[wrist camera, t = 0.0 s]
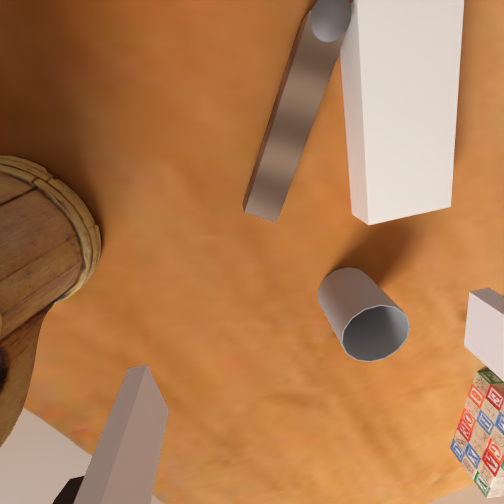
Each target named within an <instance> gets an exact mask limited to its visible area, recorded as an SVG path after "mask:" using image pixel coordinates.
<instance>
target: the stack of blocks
mask: <svg viewBox="0 0 504 504" xmlns="http://www.w3.org/2000/svg"><path fill="white" fill-rule="evenodd" d="M451 450H452V451H453V453H454V454H455V456H456V457H457V458H458V460H459V461H460V463H461V464H462V466H463V467H464V468H465V470H466V471H467V473H468V474H469V475H470V477H471V478H472V480H474V481H475V483H476V484H477V486H478V487H479V488H480V490H481V491H482V493H483V494H484V495H485V497H486V498H491V497H500V496H504V381H502V380H501V379H500V378H499V377H498V376H497V375H496V374H495V373H494V372H493V371H491V370H490V371H479V372H477V373H476V376H475V378H474V381H473V384H472V386H471V389H470V391H469V394H468V397H467V400H466V403H465V406H464V410H463V413H462V416H461V420H460V423H459V426H458V429H457V431H456V434H455V437H454V439H453V442H452V445H451Z"/></svg>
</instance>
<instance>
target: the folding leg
mask: <svg viewBox="0 0 504 504" xmlns="http://www.w3.org/2000/svg"><path fill="white" fill-rule="evenodd" d="M351 16H352V11H351V5H350V2H349V0H318V1H317V2H316V4H315V5H314V6H313V8H312V9H311V10H310V11H309V12H308V13H307V15H306V16H305V18H304V19H303V21H302V22H301V23H300V25H299V28H298V32H297V35H296V38H295V41H294V44H293V47H292V50H291V54H290V57H289V60H288V63H287V66H286V69H285V72H284V76H283V79H282V82H281V85H280V88H279V91H278V95H277V98H276V101H275V104H274V107H273V110H272V113H271V117H270V120H269V123H268V126H267V129H266V132H265V135H264V139H263V142H262V145H261V148H260V151H259V154H258V157H257V161H256V164H255V167H254V170H253V173H252V176H251V179H250V183H249V186H248V189H247V192H246V195H245V198H244V202H243V209H244V213H247V214H250V215H253V216H257V217H260V218H263V219H267V220H270V221H273V222H277V220H278V217H279V215H280V212H281V209H282V206H283V204H284V201H285V198H286V195H287V193H288V190H289V187H290V185H291V182H292V179H293V176H294V174H295V171H296V168H297V166H298V163H299V160H300V157H301V155H302V152H303V149H304V147H305V144H306V141H307V138H308V136H309V133H310V130H311V128H312V125H313V122H314V119H315V117H316V114H317V111H318V109H319V106H320V103H321V100H322V98H323V95H324V92H325V90H326V87H327V84H328V81H329V79H330V76H331V73H332V71H333V68H334V65H335V62H336V60H337V57H338V54H339V52H340V49H341V46H342V43H343V41H344V38H345V35H346V33H347V30H348V27H349V25H350V22H351Z"/></svg>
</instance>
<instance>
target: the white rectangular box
mask: <svg viewBox="0 0 504 504" xmlns="http://www.w3.org/2000/svg"><path fill="white" fill-rule="evenodd" d="M350 5H351V11H352V16H351V22H350V25H349V27H348V30H347V33H346V35H345V38H344V41H343V43H342V46H341V49H340V59H341V73H342V86H343V100H344V113H345V127H346V140H347V154H348V167H349V181H350V194H351V208H352V215H354V216H355V217H357V218H358V219H360V220H361V221H363V222H364V223H366V224H367V225H372V224H377V223H381V222H386V221H390V220H395V219H399V218H403V217H408V216H412V215H417V214H421V213H425V212H430V211H434V210H439V209H443V208H448V207H451V193H452V178H453V163H454V147H455V132H456V117H457V102H458V87H459V71H460V56H461V41H462V26H463V10H464V0H353V1H352V2H351V3H350Z"/></svg>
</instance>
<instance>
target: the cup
mask: <svg viewBox="0 0 504 504" xmlns="http://www.w3.org/2000/svg"><path fill="white" fill-rule="evenodd" d="M317 299H318V301H319V303H320V305H321V307H322V309H323V311H324V313H325V315H326V317H327V319H328V321H329V322H330V324H331V326H332V328H333V330H334V332H335V334H336V335H337V337H338V339H339V341H340V343H341V345H342V347H343V348H344V350H345V352H346V354H347V355H349V356H351V357H352V358H354V359H355V360H357V361H366V362H373V361H377V360H381V359H385V358H387V357H388V356H390V355H391V354H393V353H394V352H396V351H398V350H399V348H400V347H401V346H402V345H403V343H404V342H405V341H406V339H407V337H408V333H409V328H410V324H409V321H408V319H407V316H406V314H405V313H404V312H403V311H402V310H401V309H400V308H399V307H398V306H397V305H396V304H395V303H394V302H393V301H392V300H391V299H390V297H389V296H388V295H387V294H386V293H385V292H384V291H383V290H382V289H381V288H380V287H379V286H378V285H377V284H376V283H375V282H374V281H373V280H372V279H371V278H370V277H369V276H368V275H367V274H365V273H364V272H363V271H362V270H360V269H357V268H351V267H345V268H341V269H338V270H335V271H333V272H332V273H330V274H329V275H328V276H326V277H325V278H324V280H323V281H322V283H321V285H320V286H319V288H318V298H317Z"/></svg>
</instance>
